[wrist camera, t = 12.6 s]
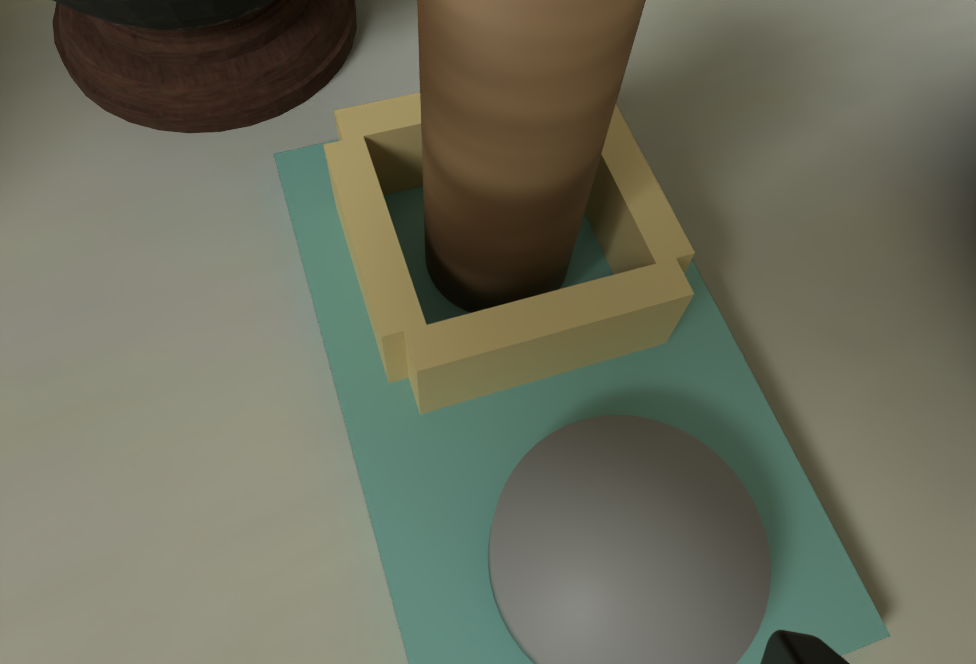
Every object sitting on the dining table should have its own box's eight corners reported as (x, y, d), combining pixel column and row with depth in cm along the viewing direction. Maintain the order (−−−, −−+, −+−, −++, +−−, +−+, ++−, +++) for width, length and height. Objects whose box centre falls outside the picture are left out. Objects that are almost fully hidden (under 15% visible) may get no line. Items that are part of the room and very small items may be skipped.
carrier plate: (871, 639, 21) (959, 621, 17) (447, 805, 19) (448, 824, 15) (594, 103, 29) (616, 16, 26) (279, 172, 27) (254, 88, 23)
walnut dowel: (589, 297, 24) (729, -89, 13) (448, 334, 23) (458, -44, 12) (540, 182, 26) (622, -247, 14) (408, 213, 25) (382, -217, 14)
